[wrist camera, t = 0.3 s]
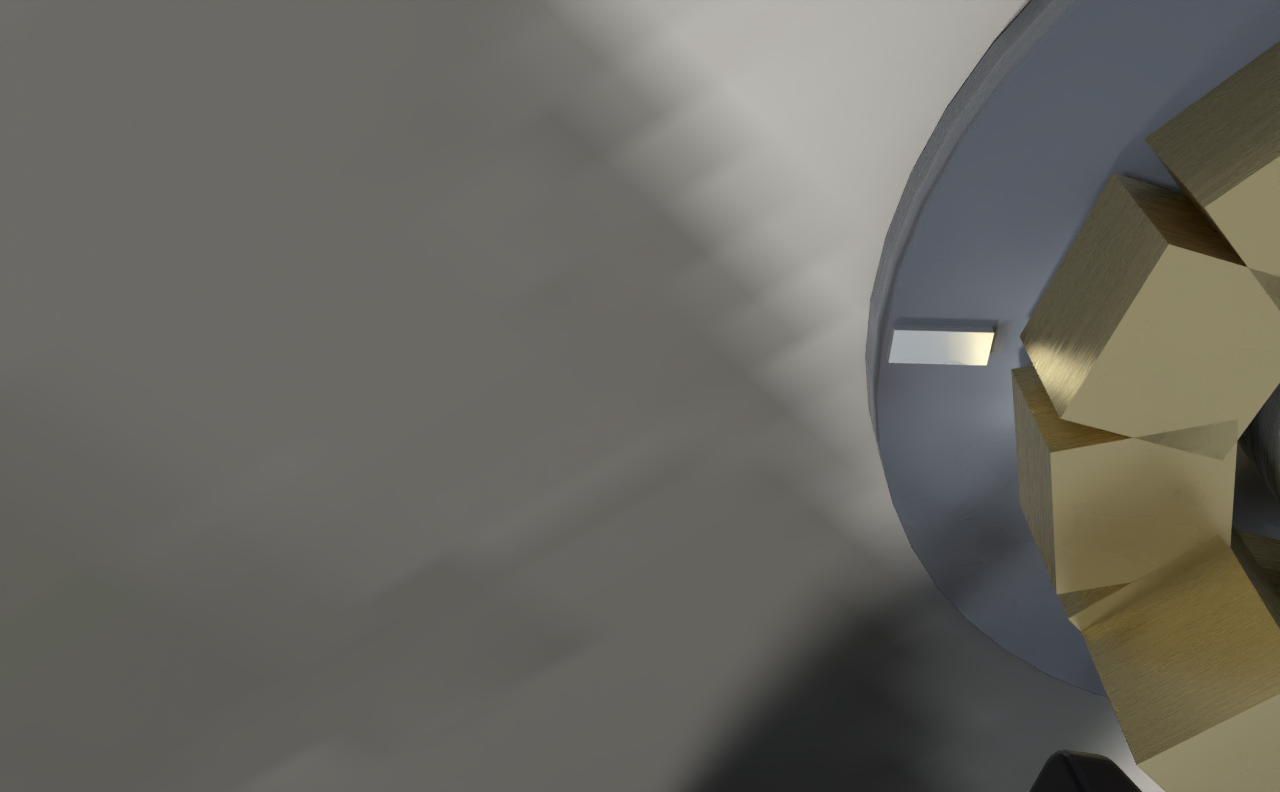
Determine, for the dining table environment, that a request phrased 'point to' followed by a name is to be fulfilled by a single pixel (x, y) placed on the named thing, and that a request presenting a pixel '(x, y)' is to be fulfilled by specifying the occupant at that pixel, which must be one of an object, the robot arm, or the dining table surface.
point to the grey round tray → (1029, 285)
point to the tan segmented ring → (1168, 440)
